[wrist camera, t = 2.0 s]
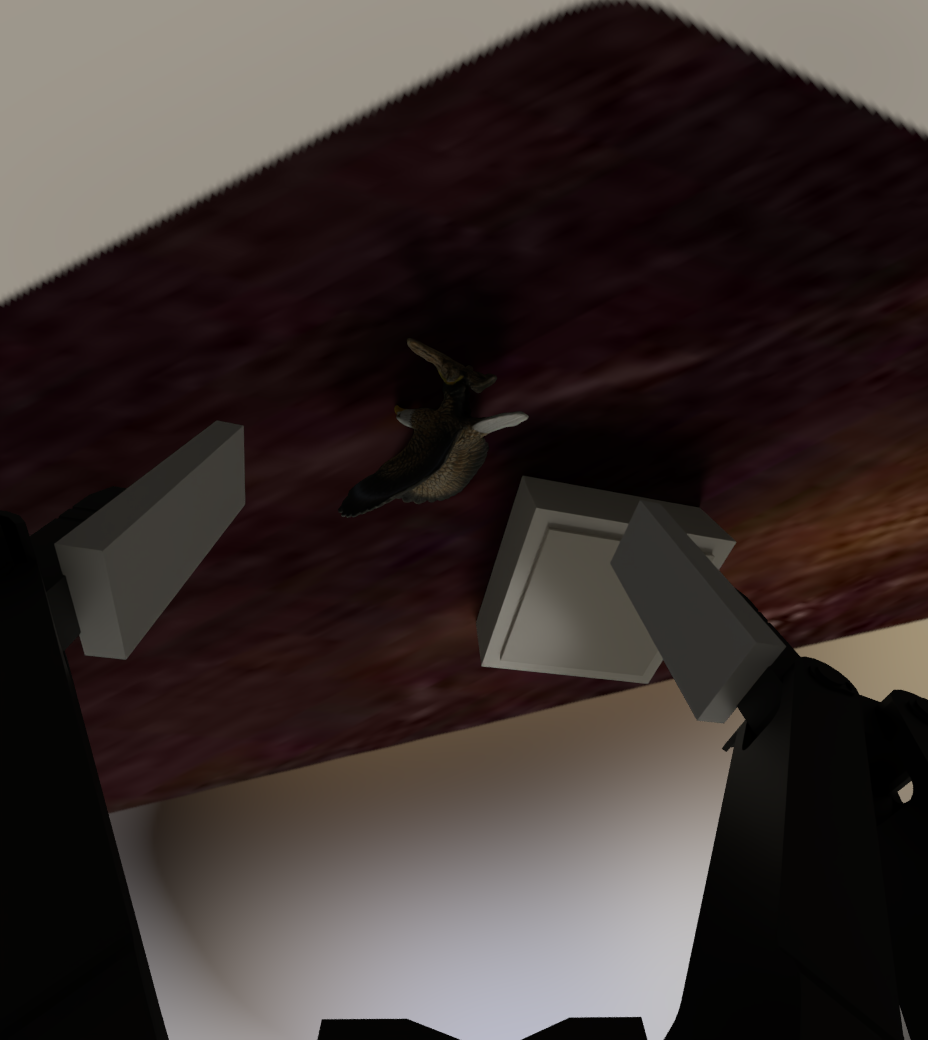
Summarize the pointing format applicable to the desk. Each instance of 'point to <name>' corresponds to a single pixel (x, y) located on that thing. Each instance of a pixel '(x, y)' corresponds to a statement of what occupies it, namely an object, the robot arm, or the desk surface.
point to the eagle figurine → (434, 443)
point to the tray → (574, 584)
